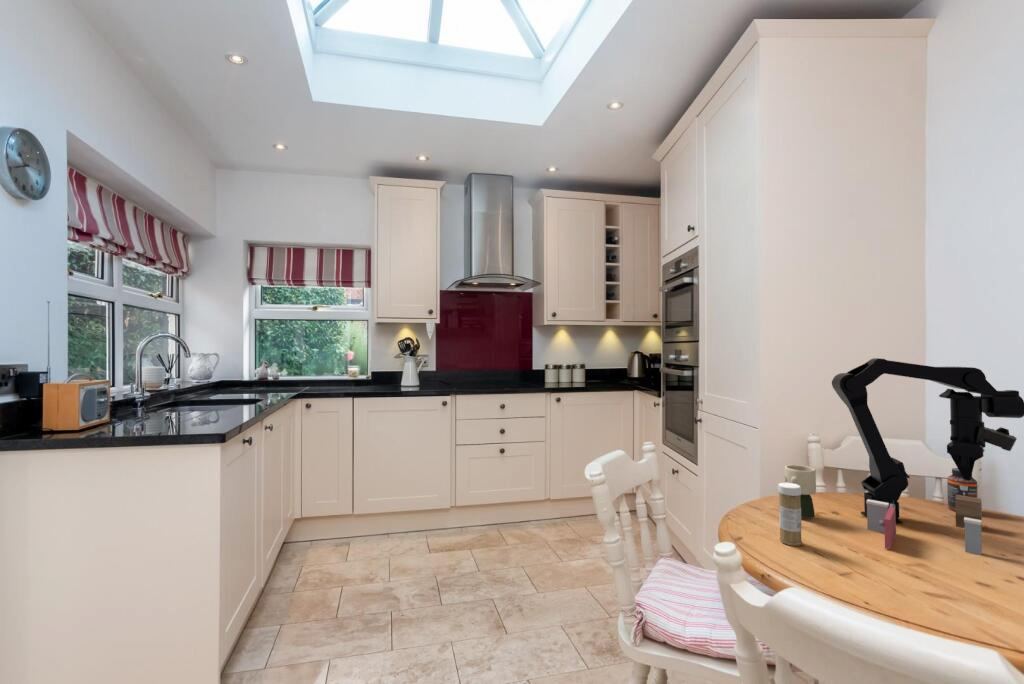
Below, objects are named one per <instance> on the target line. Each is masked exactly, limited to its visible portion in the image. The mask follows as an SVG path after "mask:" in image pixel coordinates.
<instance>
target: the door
mask: <svg viewBox="0 0 1024 684" xmlns="http://www.w3.org/2000/svg"><path fill="white" fill-rule="evenodd" d="M879 525H880V526H884V527H885V533H884V549H887V550H888V549H889V550H891V549H892V547H893V544H894V541H895V537H896V536H897V531H896V532H895V508H894V507H889V509H888V511H887V514H886V516H885V518H884V521H882V520H880V521H879Z"/></svg>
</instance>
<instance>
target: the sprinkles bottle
mask: <svg viewBox="0 0 1024 684" xmlns="http://www.w3.org/2000/svg"><path fill="white" fill-rule="evenodd" d="M777 490H778V494H779V498H778V499H779V514H778V515H779V516H778V519H779V535H780V536H779V540H780V542H781V543H783V544H785V545H786V546H787V545H788V546H794V547H799V546H801V545H803V540H802V530H803V529H802V517H801V502H800V497H801V487H800V486H799V485H797V484H793V483H785V482H780V483H778V489H777Z"/></svg>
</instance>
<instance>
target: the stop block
mask: <svg viewBox="0 0 1024 684" xmlns="http://www.w3.org/2000/svg"><path fill="white" fill-rule="evenodd" d="M955 507H956V511H955V527H957V528H963V529H965V522H964V517H967V518H972V519H978V520H982V521H983V511H982V509H983V508H982V507H983V505H982V498H979V497H977V498H974V497H968V496H962V495H956V498H955ZM982 530H983V523H982V524H981V532H982Z"/></svg>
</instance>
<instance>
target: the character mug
mask: <svg viewBox="0 0 1024 684" xmlns="http://www.w3.org/2000/svg"><path fill="white" fill-rule="evenodd" d="M816 471H817V470H816V469H815V468H813V467H811V466H807V465H801V464H788V465H787V464H786V465H785V466H784V478H785V482H784V483H793V484H797V485H799V486H800V487H801V497H800V502H801V518H808V519H811V518H812V519H813V518H815V517H816V516H815V515H816V514H815V507H814V501H813V498H812V495H815V494H816V492H817V477H816V476H817V472H816Z"/></svg>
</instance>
